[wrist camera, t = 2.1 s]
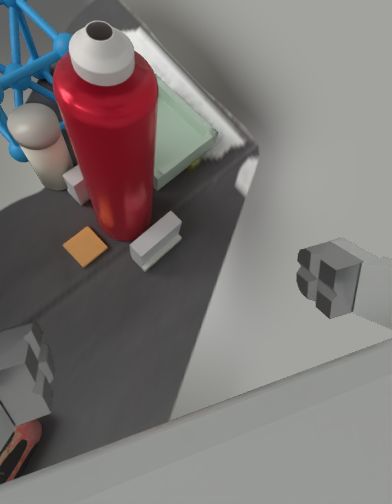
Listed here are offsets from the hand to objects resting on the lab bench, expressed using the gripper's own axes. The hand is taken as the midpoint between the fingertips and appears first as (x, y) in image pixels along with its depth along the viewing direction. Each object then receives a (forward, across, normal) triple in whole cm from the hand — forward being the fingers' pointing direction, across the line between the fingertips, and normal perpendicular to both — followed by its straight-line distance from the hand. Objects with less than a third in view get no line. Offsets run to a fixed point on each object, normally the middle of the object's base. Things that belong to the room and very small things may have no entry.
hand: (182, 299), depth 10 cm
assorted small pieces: (+26, -2, +4) cm, 27 cm away
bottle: (+24, 0, +6) cm, 25 cm away
